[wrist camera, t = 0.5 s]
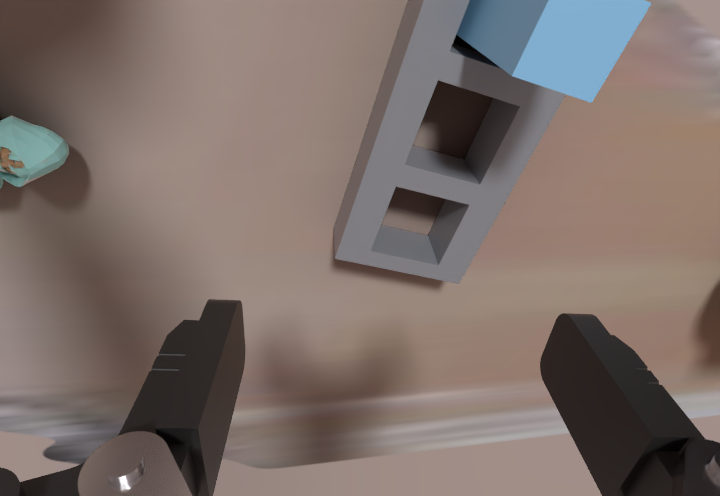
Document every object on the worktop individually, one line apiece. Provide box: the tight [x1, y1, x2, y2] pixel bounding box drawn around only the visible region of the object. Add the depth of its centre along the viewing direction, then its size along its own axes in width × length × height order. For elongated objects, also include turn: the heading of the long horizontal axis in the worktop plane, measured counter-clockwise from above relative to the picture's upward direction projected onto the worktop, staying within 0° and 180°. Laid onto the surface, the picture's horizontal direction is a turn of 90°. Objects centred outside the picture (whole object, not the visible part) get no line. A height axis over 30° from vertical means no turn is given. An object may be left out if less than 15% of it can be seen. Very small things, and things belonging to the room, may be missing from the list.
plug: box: [456, 0, 651, 103], centre depth 22 cm, size 4×4×11 cm
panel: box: [334, 0, 566, 284], centre depth 29 cm, size 22×10×4 cm, turn 163°
